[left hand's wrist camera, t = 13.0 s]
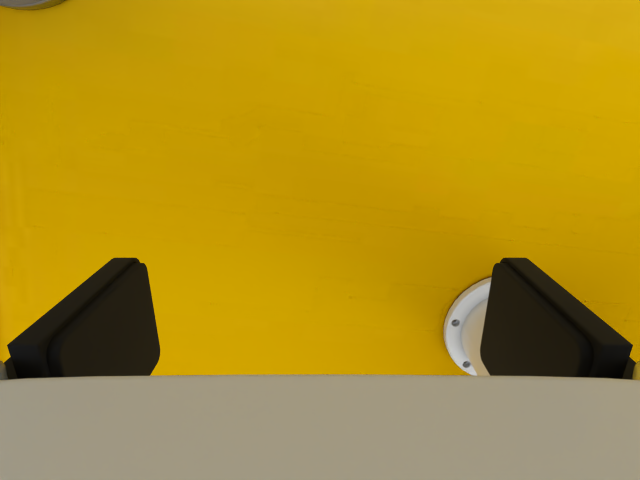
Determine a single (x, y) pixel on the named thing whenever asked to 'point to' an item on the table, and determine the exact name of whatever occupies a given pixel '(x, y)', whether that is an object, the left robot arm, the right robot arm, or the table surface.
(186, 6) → the table surface
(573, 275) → the table surface
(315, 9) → the table surface
